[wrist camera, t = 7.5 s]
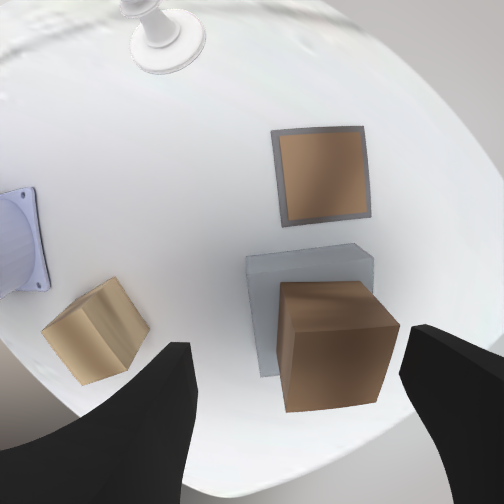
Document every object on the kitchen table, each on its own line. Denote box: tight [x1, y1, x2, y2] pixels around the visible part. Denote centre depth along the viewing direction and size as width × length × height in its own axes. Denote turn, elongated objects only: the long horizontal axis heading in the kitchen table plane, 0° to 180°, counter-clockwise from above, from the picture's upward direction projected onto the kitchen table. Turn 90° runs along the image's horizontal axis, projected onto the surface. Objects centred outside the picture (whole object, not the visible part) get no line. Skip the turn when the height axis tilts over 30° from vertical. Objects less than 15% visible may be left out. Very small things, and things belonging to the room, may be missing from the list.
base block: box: [246, 243, 374, 377], centre depth 18 cm, size 7×7×4 cm
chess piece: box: [120, 0, 206, 74], centre depth 9 cm, size 5×5×10 cm
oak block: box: [41, 277, 150, 386], centre depth 17 cm, size 4×4×5 cm
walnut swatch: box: [271, 126, 371, 227], centre depth 17 cm, size 6×6×1 cm
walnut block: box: [276, 281, 400, 413], centre depth 14 cm, size 4×4×5 cm
